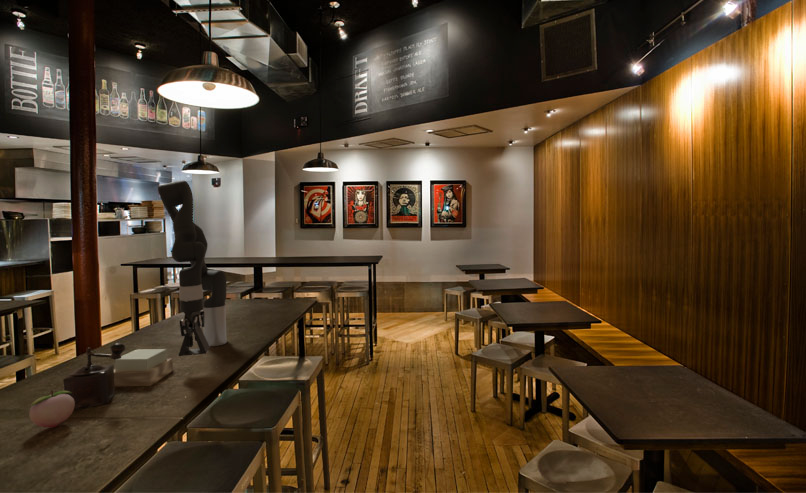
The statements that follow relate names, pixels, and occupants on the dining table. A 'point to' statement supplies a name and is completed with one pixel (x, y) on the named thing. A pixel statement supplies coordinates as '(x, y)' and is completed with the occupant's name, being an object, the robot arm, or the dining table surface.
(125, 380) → the tower base
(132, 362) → the tower top
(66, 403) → the decorative fruit
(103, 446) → the dining table surface
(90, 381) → the manual coffee grinder
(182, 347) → the phone stand
